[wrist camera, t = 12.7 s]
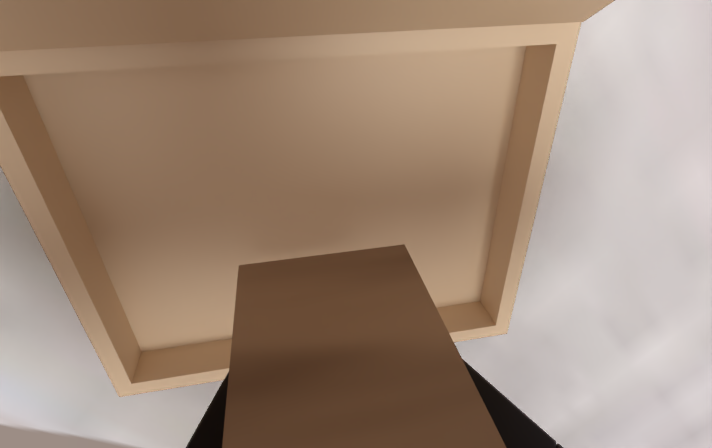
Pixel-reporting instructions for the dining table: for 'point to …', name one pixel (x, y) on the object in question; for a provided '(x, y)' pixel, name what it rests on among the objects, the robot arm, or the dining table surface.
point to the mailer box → (277, 173)
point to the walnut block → (347, 359)
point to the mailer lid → (258, 19)
